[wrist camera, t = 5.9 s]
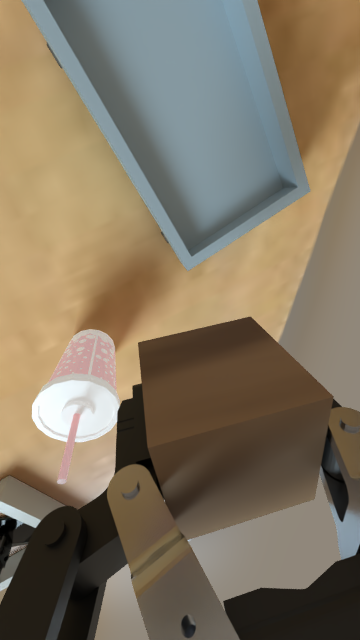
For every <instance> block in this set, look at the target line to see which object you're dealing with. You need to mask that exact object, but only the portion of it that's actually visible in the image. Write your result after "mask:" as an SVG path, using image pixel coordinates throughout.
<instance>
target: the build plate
mask: <svg viewBox="0 0 360 640" xmlns="http://www.w3.org/2000/svg"><path fill="white" fill-rule="evenodd" d="M34 530H35V528H34V527H32V526H30V525H28V524H25V523H23V522H21V521H19V520H16V519H14V518H12V517H6V518H0V574H1V571H2V568H5V565H6V562H7V561H8V559H9V553H10V550H11V547H14V546H20V545H25V544H28V542H29V540H30V538H31V536H32V534H33V532H34Z"/></svg>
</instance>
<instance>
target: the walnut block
mask: <svg viewBox="0 0 360 640" xmlns="http://www.w3.org/2000/svg"><path fill="white" fill-rule="evenodd" d="M138 347H139V358H140V369H141V380H142V391H143V402H144V412H145V423H146V434H147V445H148V450H149V453H150V456H151V460H152V463H153V466H154V469H155V472H156V475H157V478H158V481H159V484H160V487H161V491H162V494H163V497H164V500H165V503H166V505H167V507H168V509H169V511H170V513H171V515H172V517H173V519H174V520H175V522H176V524H177V526H178V528H179V530H180V532H181V533H182V534H183V535H184V536H185V538H186V539H187V540H189V539H192V538H195V537H198V536H202V535H205V534H208V533H211V532H214V531H217V530H220V529H223V528H226V527H230V526H233V525H236V524H239V523H242V522H245V521H248V520H251V519H254V518H258V517H261V516H264V515H267V514H270V513H273V512H276V511H279V510H283V509H286V508H289V507H292V506H295V505H298V504H301V503H304V502H307V501H310V500H314V499H315V494H316V488H317V483H318V477H319V472H320V467H321V462H322V456H323V451H324V445H325V440H326V435H327V429H328V424H329V418H330V413H331V408H332V402H333V396H332V395H331V394H330V393H329V392H328V391H327V390H326V389H325V388H324V387H323V386H322V385H321V384H320V383H319V382H317V380H316V379H315V378H314V377H313V376H312V375H311V374H310V373H309V372H308V371H306V370H305V369H304V368H303V367H302V366H301V365H300V364H299V363H298V362H297V361H296V360H295V359H294V358H293V357H292V356H291V355H290V354H289V353H288V352H287V351H286V350H285V349H284V348H283V347H282V346H281V345H279V344H278V343H277V342H276V341H275V340H274V339H273V338H272V337H271V336H270V335H269V334H268V333H267V332H266V331H265V330H264V329H263V328H262V327H261V326H260V325H259V324H258V323H257V322H256V321H255V320H254V319H253V318H251V317H247V318H242V319H238V320H234V321H230V322H225V323H221V324H217V325H212V326H208V327H204V328H199V329H195V330H191V331H186V332H182V333H178V334H173V335H169V336H165V337H160V338H156V339H152V340H147V341H143V342H139V343H138Z"/></svg>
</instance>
